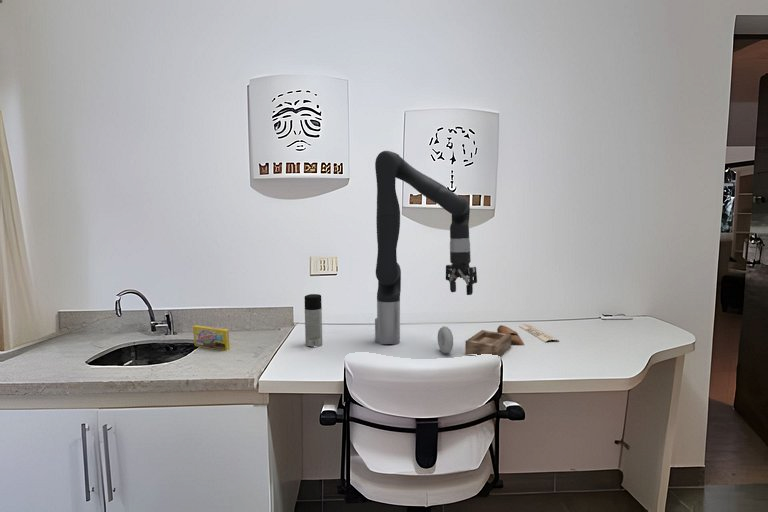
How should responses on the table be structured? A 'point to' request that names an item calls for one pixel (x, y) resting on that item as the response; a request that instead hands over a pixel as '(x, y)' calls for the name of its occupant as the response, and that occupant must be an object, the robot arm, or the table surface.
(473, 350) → the walnut base
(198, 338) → the candy box
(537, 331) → the newspaper
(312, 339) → the spray can
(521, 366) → the table surface
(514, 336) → the sunglasses case
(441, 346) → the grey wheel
